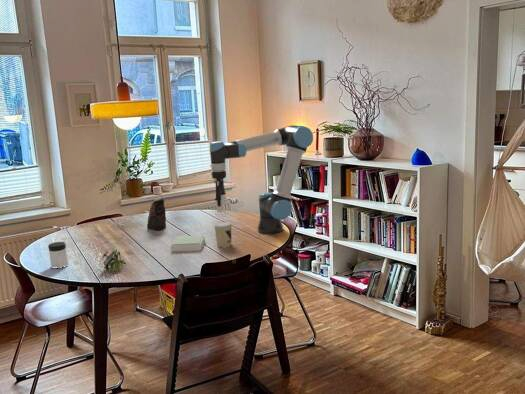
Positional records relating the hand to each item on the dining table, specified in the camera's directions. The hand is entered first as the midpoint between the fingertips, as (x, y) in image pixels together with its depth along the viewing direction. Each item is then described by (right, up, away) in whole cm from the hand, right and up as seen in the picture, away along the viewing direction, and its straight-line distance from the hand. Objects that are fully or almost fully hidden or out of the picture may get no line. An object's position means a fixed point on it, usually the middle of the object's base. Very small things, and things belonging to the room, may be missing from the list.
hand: (221, 209), depth 275 cm
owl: (-45, -14, +48) cm, 68 cm away
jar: (-81, -29, -16) cm, 88 cm away
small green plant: (-51, -29, -25) cm, 64 cm away
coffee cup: (+1, -20, +4) cm, 21 cm away
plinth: (-19, -21, +5) cm, 29 cm away
